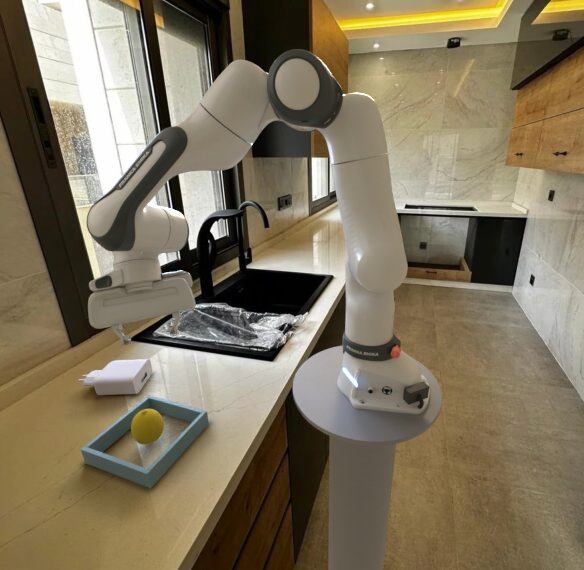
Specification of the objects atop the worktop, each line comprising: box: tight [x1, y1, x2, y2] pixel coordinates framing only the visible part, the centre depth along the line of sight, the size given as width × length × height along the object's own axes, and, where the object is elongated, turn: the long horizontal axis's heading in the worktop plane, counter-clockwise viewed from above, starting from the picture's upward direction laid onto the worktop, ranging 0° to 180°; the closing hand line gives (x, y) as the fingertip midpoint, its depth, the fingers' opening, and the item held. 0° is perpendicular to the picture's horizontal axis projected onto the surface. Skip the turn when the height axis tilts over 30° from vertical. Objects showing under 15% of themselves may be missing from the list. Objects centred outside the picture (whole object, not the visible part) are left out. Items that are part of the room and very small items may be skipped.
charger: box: [77, 358, 153, 396], centre depth 81 cm, size 5×9×15 cm
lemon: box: [130, 409, 165, 446], centre depth 64 cm, size 6×6×8 cm
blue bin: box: [80, 394, 210, 489], centre depth 65 cm, size 16×16×4 cm
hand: (151, 339), depth 70 cm, fingers open, 8 cm apart
